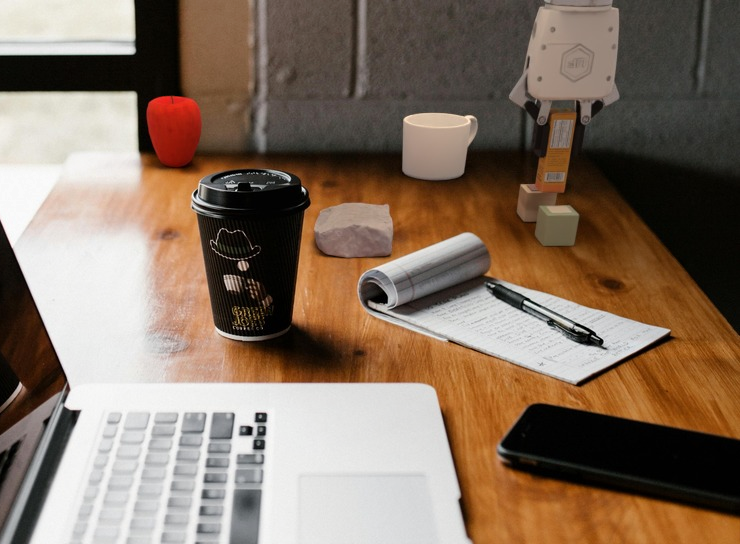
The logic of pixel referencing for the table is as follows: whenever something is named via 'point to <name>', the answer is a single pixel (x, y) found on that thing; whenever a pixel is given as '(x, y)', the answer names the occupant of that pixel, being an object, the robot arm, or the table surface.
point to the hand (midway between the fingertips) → (555, 153)
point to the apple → (174, 129)
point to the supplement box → (556, 151)
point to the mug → (436, 145)
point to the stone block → (355, 230)
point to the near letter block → (556, 225)
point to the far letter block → (533, 202)
